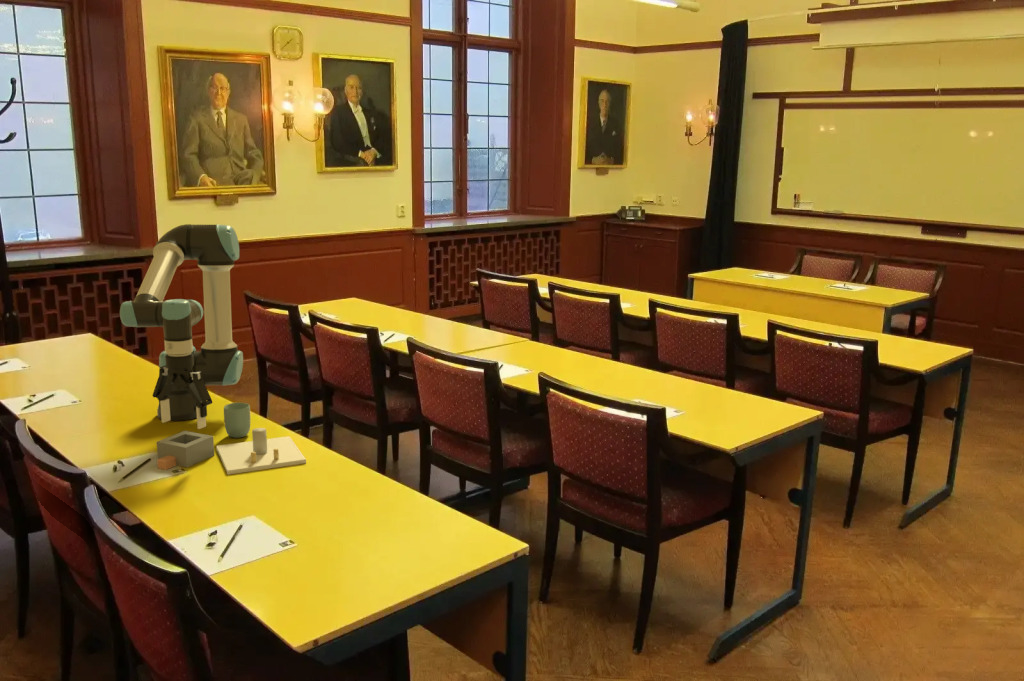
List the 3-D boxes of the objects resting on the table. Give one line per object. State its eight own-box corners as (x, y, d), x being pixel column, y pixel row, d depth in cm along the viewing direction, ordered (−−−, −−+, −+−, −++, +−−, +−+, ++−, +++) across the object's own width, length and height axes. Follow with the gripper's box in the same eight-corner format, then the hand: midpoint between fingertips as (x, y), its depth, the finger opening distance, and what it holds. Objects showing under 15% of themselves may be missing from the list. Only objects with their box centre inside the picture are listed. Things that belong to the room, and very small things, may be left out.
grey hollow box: (186, 449, 254) (184, 430, 253) (214, 455, 250) (213, 436, 248) (147, 465, 240) (145, 446, 239) (176, 472, 236) (175, 452, 235)
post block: (216, 449, 254) (215, 423, 253) (289, 439, 264) (288, 415, 262) (227, 474, 235) (226, 447, 233) (306, 463, 245) (305, 436, 243)
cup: (243, 441, 262) (241, 410, 260) (220, 438, 264) (218, 408, 261) (255, 433, 270) (254, 403, 267) (233, 431, 271) (231, 401, 269)
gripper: (136, 351, 241) (141, 422, 246) (203, 360, 232) (207, 434, 236) (156, 346, 248) (161, 415, 252) (222, 355, 238) (226, 426, 243)
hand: (183, 424), depth 244 cm, fingers open, 13 cm apart
